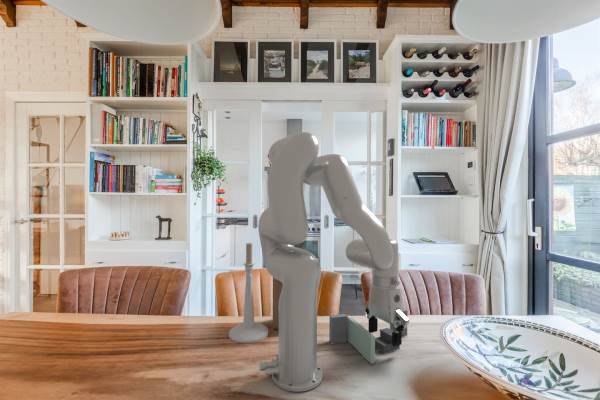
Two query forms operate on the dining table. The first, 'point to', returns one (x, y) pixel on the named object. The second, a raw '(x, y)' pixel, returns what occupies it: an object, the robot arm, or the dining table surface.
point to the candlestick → (248, 310)
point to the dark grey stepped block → (385, 341)
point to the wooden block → (276, 301)
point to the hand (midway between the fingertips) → (384, 338)
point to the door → (361, 339)
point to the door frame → (340, 328)
